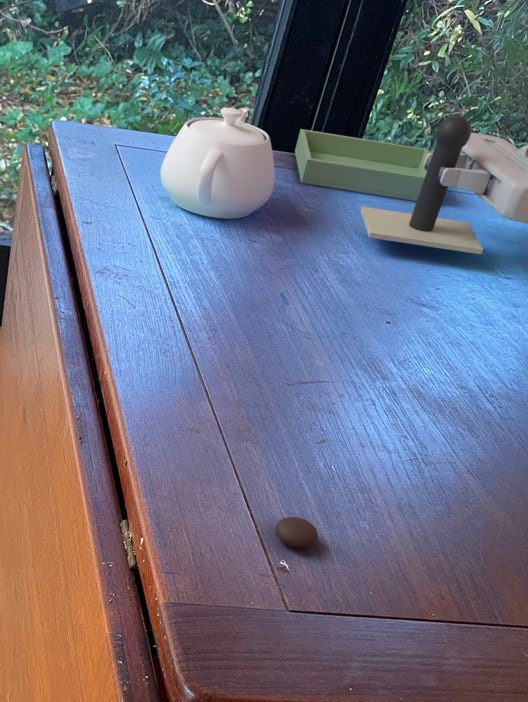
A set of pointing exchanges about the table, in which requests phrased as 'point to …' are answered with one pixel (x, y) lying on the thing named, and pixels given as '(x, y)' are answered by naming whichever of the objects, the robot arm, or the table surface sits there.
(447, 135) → the joystick
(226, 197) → the teapot
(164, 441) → the table surface
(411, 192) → the tray
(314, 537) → the chocolate truffle
